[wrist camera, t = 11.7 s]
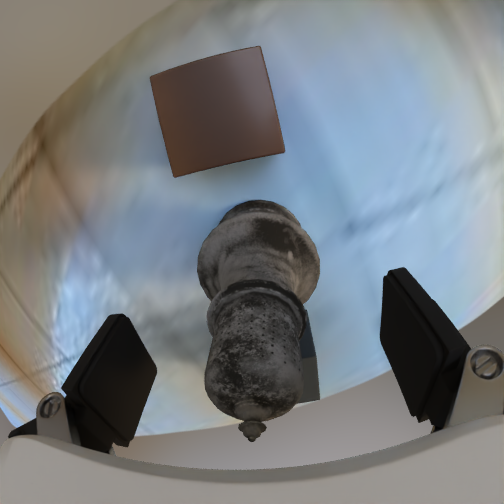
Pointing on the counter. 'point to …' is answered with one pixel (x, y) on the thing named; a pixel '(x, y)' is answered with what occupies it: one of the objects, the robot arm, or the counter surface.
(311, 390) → the slate block
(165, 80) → the walnut block
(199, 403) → the counter surface
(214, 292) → the stone chess piece
